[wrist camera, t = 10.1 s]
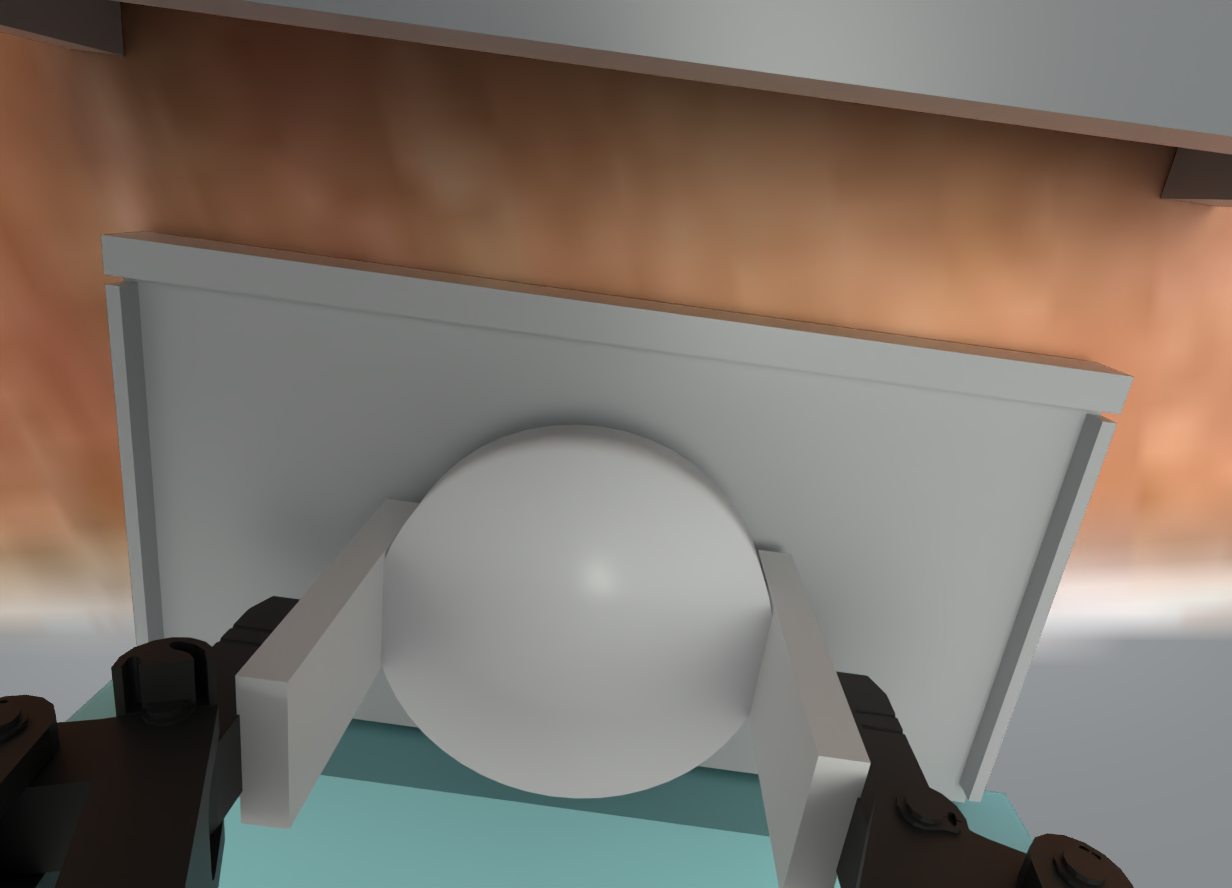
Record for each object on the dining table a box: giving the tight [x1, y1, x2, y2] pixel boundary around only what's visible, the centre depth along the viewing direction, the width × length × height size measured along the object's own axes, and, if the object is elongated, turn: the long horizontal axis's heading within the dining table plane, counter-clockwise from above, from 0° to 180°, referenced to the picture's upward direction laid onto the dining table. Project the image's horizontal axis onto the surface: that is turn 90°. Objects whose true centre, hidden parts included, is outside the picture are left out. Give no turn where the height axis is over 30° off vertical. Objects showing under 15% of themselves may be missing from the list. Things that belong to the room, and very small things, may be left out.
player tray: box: [66, 231, 1134, 888], centre depth 18 cm, size 17×24×3 cm
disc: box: [381, 424, 772, 798], centre depth 16 cm, size 8×8×2 cm
